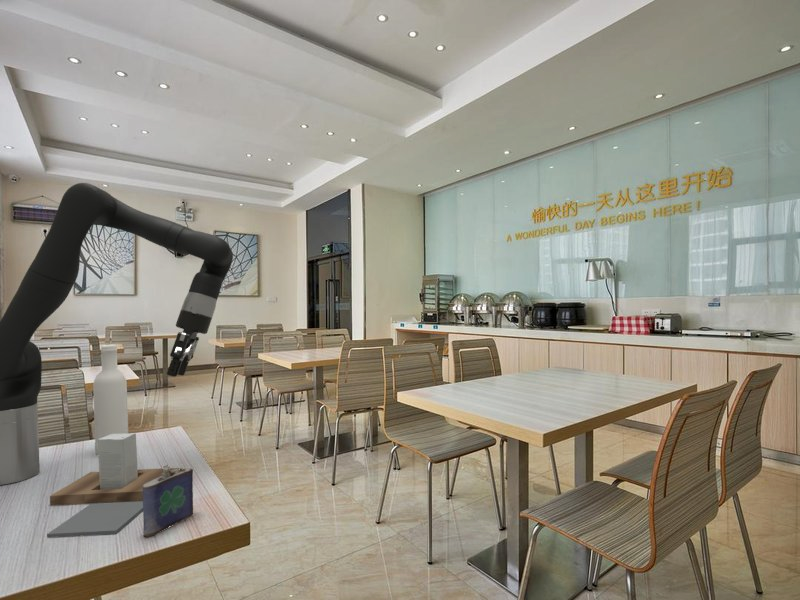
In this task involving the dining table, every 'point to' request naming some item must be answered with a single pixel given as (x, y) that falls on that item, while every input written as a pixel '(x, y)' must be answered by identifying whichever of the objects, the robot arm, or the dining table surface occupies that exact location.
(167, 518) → the flask
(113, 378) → the bottle
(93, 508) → the slate mat
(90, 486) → the brown slab with opening
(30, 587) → the dining table surface
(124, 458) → the skincare box
